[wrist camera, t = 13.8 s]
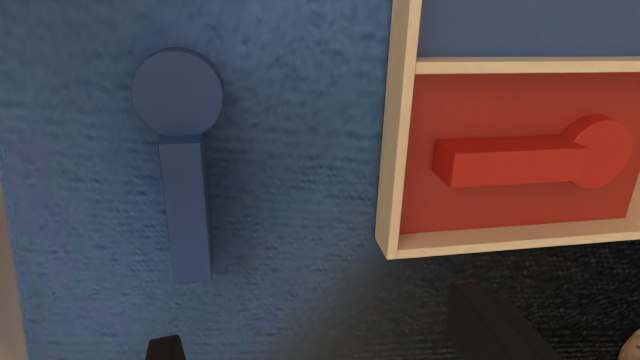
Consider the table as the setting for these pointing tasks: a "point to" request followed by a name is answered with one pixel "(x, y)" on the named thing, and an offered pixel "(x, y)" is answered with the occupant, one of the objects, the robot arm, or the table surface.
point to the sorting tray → (504, 120)
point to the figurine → (631, 348)
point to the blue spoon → (182, 148)
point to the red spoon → (538, 157)
